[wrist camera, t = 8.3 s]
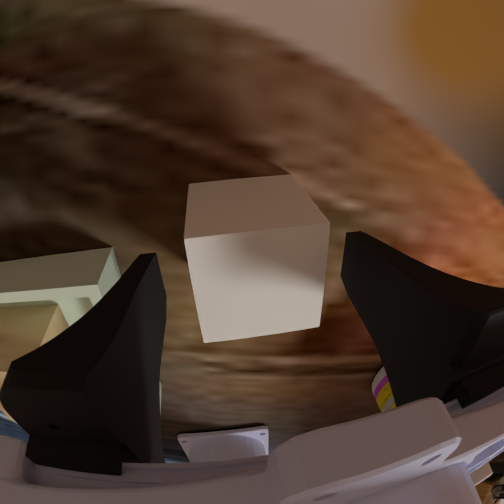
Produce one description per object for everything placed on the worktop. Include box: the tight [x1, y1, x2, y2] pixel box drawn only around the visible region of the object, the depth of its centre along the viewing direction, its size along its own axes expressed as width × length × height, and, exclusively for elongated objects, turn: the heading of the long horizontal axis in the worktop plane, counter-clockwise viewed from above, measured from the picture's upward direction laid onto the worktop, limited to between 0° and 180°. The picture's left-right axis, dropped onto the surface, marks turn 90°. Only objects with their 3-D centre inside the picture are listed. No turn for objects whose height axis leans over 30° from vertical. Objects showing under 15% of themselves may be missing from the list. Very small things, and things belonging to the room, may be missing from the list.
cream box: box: [184, 174, 330, 343], centre depth 13 cm, size 4×4×5 cm
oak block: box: [0, 304, 69, 421], centre depth 14 cm, size 5×5×5 cm
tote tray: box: [0, 247, 162, 415], centre depth 15 cm, size 11×17×3 cm, turn 92°
